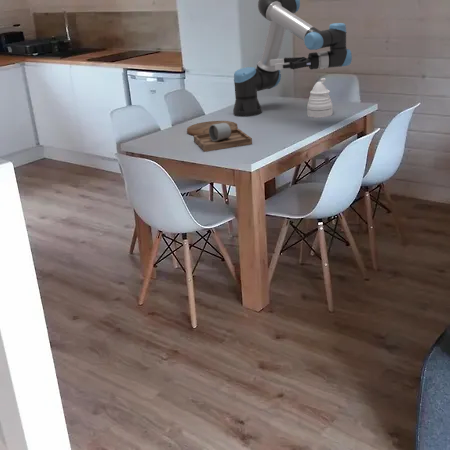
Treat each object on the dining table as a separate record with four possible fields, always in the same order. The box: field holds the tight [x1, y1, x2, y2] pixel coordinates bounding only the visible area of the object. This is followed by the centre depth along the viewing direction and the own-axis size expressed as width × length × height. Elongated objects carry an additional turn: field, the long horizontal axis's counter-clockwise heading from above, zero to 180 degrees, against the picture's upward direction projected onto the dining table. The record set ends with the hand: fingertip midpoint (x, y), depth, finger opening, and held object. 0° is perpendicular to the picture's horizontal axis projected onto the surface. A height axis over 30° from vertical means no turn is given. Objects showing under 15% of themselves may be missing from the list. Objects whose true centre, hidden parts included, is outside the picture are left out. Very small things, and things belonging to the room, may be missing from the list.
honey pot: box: [306, 77, 334, 118], centre depth 319 cm, size 13×13×18 cm
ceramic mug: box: [209, 123, 231, 142], centre depth 287 cm, size 11×8×8 cm
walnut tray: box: [193, 128, 253, 153], centre depth 287 cm, size 20×22×3 cm
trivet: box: [186, 120, 239, 137], centre depth 311 cm, size 25×25×2 cm
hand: (272, 64), depth 292 cm, fingers open, 13 cm apart
